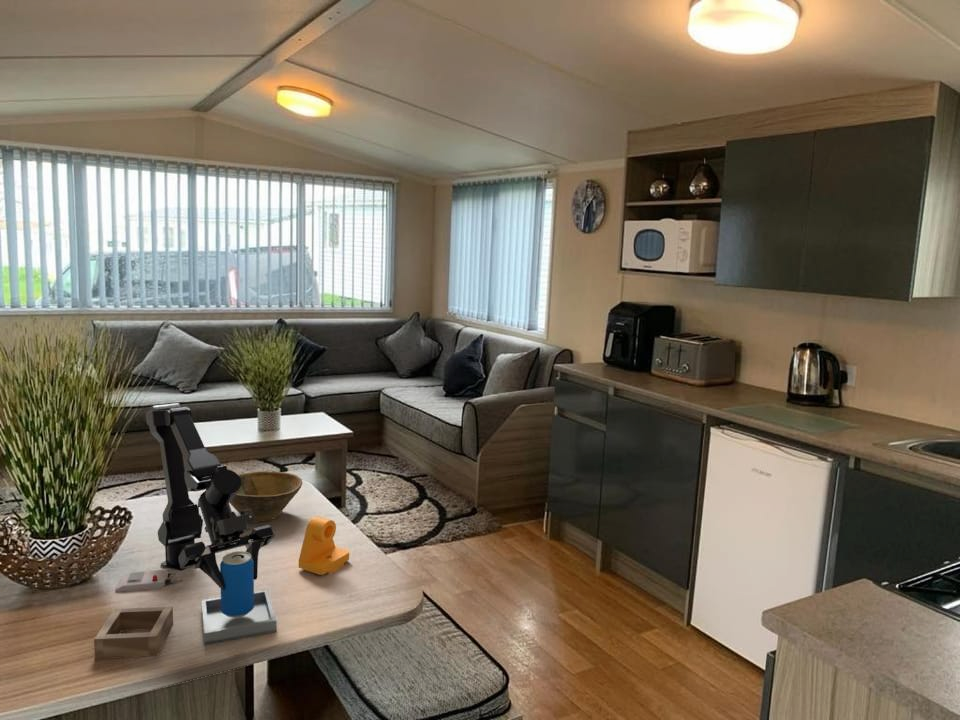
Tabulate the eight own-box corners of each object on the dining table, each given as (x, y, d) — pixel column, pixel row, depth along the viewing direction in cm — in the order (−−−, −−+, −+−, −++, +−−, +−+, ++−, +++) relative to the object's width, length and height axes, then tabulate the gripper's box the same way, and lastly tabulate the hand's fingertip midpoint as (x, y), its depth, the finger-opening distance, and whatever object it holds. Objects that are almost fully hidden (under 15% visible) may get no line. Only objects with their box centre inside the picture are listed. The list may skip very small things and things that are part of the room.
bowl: (278, 495, 215) (278, 465, 213) (315, 518, 199) (315, 485, 197) (208, 511, 200) (207, 479, 199) (242, 538, 184) (241, 502, 182)
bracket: (321, 578, 164) (321, 530, 162) (298, 570, 167) (298, 523, 165) (350, 561, 173) (351, 516, 171) (328, 554, 176) (328, 509, 174)
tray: (204, 645, 135) (204, 633, 135) (201, 611, 147) (201, 600, 147) (276, 631, 141) (276, 620, 140) (267, 600, 153) (267, 589, 152)
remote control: (112, 580, 160) (111, 568, 159) (185, 573, 164) (185, 562, 164) (105, 594, 153) (105, 581, 153) (182, 587, 158) (181, 574, 157)
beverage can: (258, 603, 147) (257, 551, 145) (248, 620, 141) (247, 565, 139) (227, 602, 147) (226, 549, 145) (216, 619, 141) (215, 564, 138)
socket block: (116, 627, 140) (115, 608, 139) (173, 624, 142) (172, 606, 141) (94, 658, 129) (93, 639, 129) (157, 655, 131) (156, 636, 130)
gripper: (181, 508, 136) (203, 582, 130) (270, 489, 149) (295, 555, 143) (169, 532, 144) (189, 603, 137) (255, 512, 156) (277, 576, 150)
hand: (239, 583), depth 142 cm, fingers closed on beverage can, 6 cm apart
